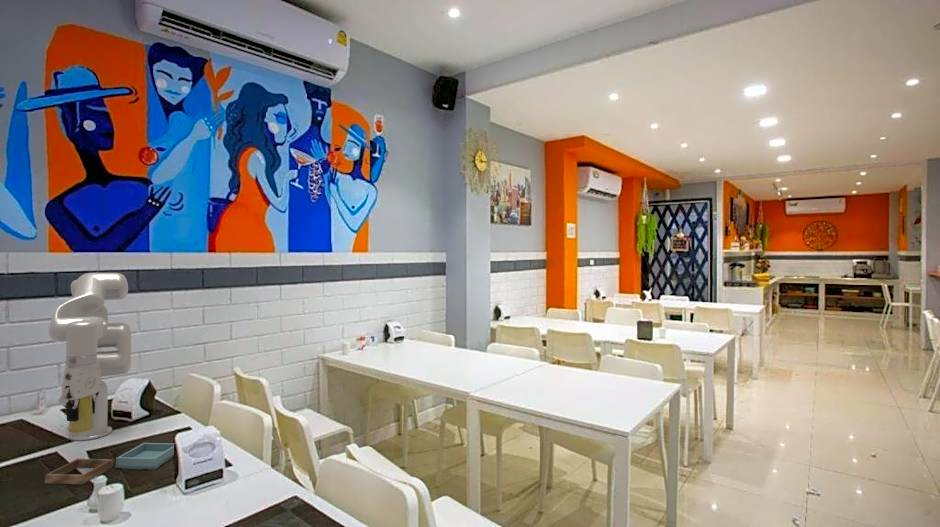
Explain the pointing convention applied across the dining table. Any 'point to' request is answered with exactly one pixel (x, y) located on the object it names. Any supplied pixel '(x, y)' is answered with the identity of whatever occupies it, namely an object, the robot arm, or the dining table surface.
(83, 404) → the vase
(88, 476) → the frame
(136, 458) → the tray
